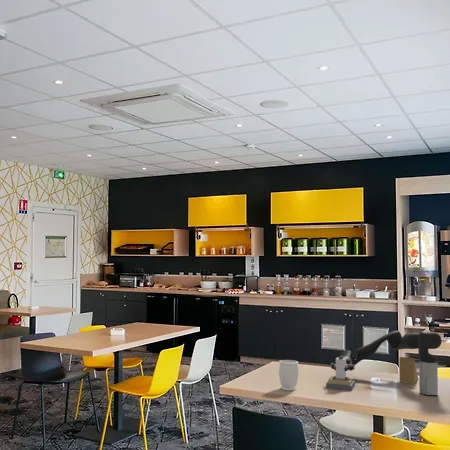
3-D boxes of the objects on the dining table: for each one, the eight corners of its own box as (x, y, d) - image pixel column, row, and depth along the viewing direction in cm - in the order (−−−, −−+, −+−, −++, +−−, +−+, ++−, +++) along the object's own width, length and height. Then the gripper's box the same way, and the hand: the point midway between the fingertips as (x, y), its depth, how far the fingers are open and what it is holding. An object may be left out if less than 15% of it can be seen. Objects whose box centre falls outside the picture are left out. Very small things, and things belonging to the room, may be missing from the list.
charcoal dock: (354, 385, 306) (355, 377, 306) (351, 390, 293) (351, 382, 293) (330, 382, 311) (330, 375, 311) (326, 388, 298) (326, 379, 298)
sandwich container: (419, 379, 327) (418, 354, 328) (414, 384, 313) (414, 358, 315) (404, 377, 331) (404, 353, 332) (399, 382, 318) (399, 356, 319)
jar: (275, 389, 291) (276, 361, 292) (282, 386, 300) (283, 358, 302) (294, 392, 286) (294, 363, 287) (300, 388, 296) (301, 360, 297)
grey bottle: (345, 379, 304) (346, 356, 305) (344, 381, 299) (344, 357, 300) (336, 378, 306) (337, 355, 306) (335, 380, 301) (335, 356, 302)
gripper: (332, 356, 319) (327, 361, 303) (357, 358, 314) (353, 363, 298) (332, 369, 318) (327, 374, 303) (356, 371, 313) (353, 377, 298)
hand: (340, 369), depth 300 cm, fingers closed on grey bottle, 5 cm apart
